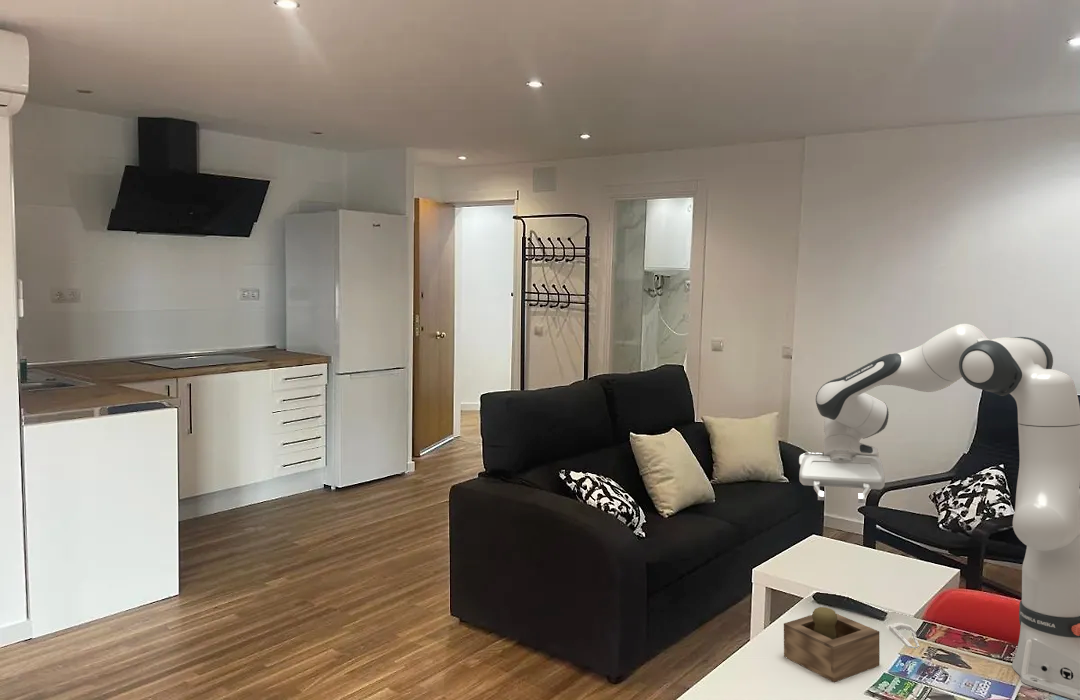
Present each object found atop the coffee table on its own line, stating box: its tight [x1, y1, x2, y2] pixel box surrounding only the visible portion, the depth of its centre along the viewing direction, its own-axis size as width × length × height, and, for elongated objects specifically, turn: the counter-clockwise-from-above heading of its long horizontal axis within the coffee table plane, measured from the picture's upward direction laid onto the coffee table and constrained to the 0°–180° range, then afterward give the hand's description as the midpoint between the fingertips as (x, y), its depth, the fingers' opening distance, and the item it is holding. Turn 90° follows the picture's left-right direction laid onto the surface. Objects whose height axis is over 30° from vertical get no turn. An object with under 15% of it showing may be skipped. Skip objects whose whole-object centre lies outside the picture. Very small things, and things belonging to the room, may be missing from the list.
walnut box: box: [783, 613, 881, 683], centre depth 175 cm, size 14×14×8 cm
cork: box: [811, 606, 838, 640], centre depth 174 cm, size 6×6×11 cm
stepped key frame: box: [887, 622, 921, 650], centre depth 186 cm, size 13×5×2 cm, turn 0°
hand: (841, 500), depth 197 cm, fingers open, 8 cm apart
